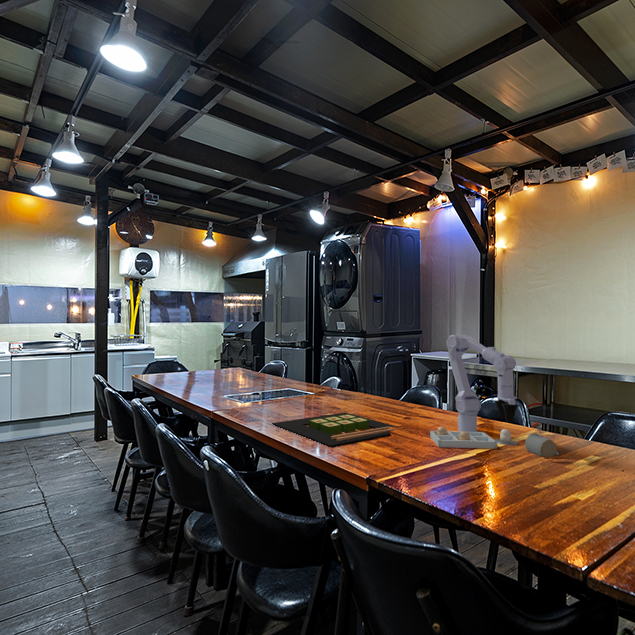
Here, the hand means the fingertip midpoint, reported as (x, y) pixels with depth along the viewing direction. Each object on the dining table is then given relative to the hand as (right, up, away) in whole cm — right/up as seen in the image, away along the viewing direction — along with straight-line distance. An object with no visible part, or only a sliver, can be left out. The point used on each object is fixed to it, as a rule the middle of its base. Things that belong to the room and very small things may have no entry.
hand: (506, 420), depth 170 cm
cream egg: (0, -9, +1) cm, 9 cm away
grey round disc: (0, -10, +1) cm, 10 cm away
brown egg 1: (-25, -9, +3) cm, 27 cm away
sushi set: (-66, -11, +25) cm, 71 cm away
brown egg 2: (-18, -9, -4) cm, 21 cm away
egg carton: (-18, -10, -1) cm, 21 cm away
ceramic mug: (+8, -10, -14) cm, 19 cm away
